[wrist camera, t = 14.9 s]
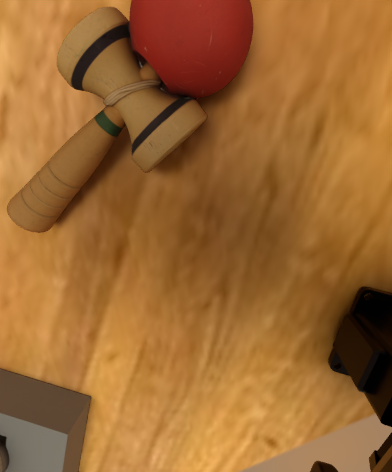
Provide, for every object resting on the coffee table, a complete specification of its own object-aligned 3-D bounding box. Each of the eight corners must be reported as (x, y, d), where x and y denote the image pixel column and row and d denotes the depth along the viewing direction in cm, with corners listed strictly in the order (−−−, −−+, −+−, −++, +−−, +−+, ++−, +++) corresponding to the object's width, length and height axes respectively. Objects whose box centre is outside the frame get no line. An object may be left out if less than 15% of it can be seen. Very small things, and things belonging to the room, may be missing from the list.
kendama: (99, 251, 22) (294, 66, 15) (27, 277, 16) (290, -4, 10) (43, 175, 23) (208, -37, 16) (-46, 173, 17) (154, -163, 10)
